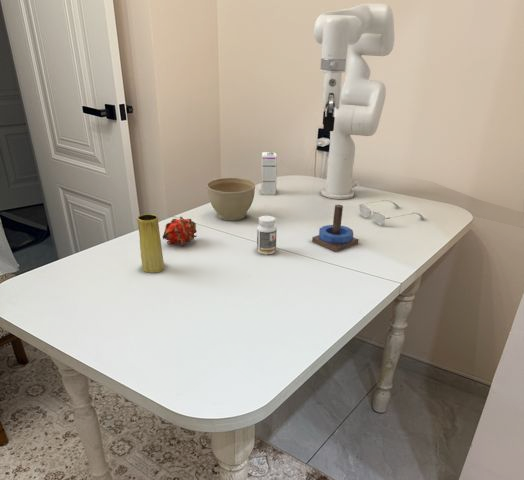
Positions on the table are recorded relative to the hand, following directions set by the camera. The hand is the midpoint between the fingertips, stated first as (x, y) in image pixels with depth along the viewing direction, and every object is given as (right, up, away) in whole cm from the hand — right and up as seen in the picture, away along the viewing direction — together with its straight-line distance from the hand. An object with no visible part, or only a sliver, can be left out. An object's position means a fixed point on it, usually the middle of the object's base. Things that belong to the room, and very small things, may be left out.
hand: (327, 127), depth 157 cm
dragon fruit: (-46, -39, -8) cm, 61 cm away
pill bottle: (-20, -42, -11) cm, 48 cm away
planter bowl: (-31, -25, +13) cm, 42 cm away
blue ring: (+2, -36, -5) cm, 36 cm away
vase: (-51, -49, -23) cm, 74 cm away
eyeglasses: (+24, -25, +15) cm, 38 cm away
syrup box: (-18, -9, +36) cm, 41 cm away
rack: (+2, -38, -5) cm, 38 cm away
